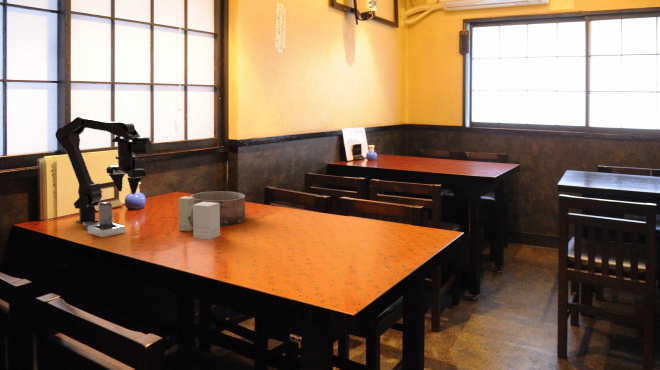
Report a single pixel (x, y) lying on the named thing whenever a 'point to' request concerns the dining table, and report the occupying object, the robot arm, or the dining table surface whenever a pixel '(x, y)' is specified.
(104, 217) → the dark grey metal cylinder
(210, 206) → the supplement box
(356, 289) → the dining table surface
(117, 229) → the square frame with handle
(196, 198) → the cooking pot
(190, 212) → the box
